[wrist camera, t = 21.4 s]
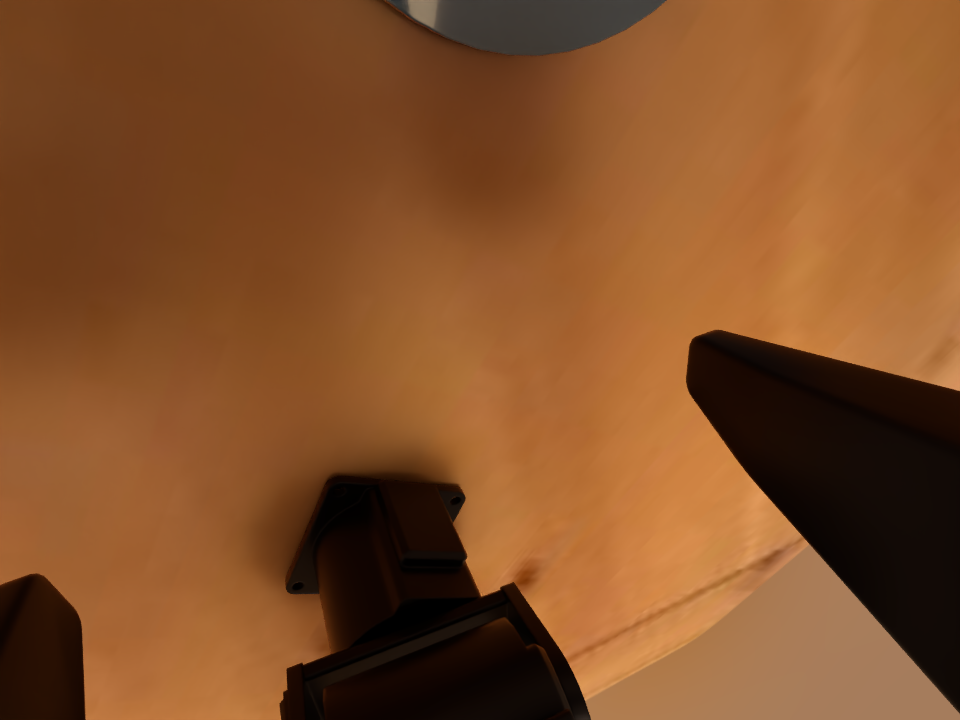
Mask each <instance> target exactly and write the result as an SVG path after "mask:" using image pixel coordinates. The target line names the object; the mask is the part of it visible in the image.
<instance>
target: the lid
mask: <svg viewBox="0 0 960 720" xmlns="http://www.w3.org/2000/svg"><path fill="white" fill-rule="evenodd" d="M384 1H385V2H386V3H388V4H389V5H390V6H392V7H393V8H395V9H396V10H397V11H399V12H400V13H402V14H403V15H404V16H406V17H407V18H408V19H410V20H411V21H413V22H415V23H417V24H419V25H421V26H423V27H424V28H426V29H428V30H430V31H432V32H434V33H436V34H438V35H440V36H441V37H444V38H447V39H449V40H452V41H455V42H458V43H461V44H464V45H466V46H469V47H472V48H475V49H478V50H483V51H489V52H494V53H499V54H505V55H521V56H542V55H549V54H557V53H564V52H570V51H573V50H576V49H580V48H583V47H586V46H590V45H593V44H596V43H599V42H601V41H603V40H605V39H607V38H609V37H612V36H614V35H616V34H618V33H620V32H622V31H624V30H626V29H628V28H629V27H631V26H632V25H634V24H635V23H637V22H638V21H640V20H642V19H643V18H645V17H646V16H648V15H649V14H651V13H652V12H653V11H655V10H656V9H657V8H658V7H659V6H661V5H662V4H663V3H664V2H665V1H667V0H384Z"/></svg>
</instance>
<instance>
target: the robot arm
mask: <svg viewBox="0 0 960 720" xmlns="http://www.w3.org/2000/svg"><path fill="white" fill-rule="evenodd" d="M686 383H687V388H688V391H689V393H690V395H691V396H692V398H693V399H694V401H695V402H696V403H697V405H698V406H699V408H700V409H701V410H702V412H703V413H704V415H705V416H706V417H707V419H708V420H709V422H710V423H711V424H712V426H713V427H714V429H715V430H716V431H717V433H718V434H719V436H720V437H721V438H722V440H723V441H724V443H725V444H726V445H727V447H728V448H729V450H730V451H731V452H732V454H733V455H734V457H735V458H736V459H737V461H738V462H739V463H740V465H741V466H742V467H743V468H744V470H745V471H746V472H747V473H748V475H749V476H750V477H751V478H752V479H753V481H754V482H755V483H756V484H757V485H758V486H759V488H760V489H761V490H762V491H763V492H764V493H765V494H766V495H767V497H768V498H769V499H770V500H771V501H772V502H773V503H774V505H775V506H776V507H777V508H778V509H779V510H780V511H781V512H782V514H783V515H784V516H785V517H786V518H787V519H788V520H789V521H790V523H791V524H792V525H793V526H794V527H795V528H796V529H797V530H798V532H799V533H800V534H801V535H802V536H803V537H804V538H805V540H806V541H807V542H808V543H809V544H810V545H811V546H812V547H813V549H814V550H815V551H816V552H817V553H818V554H819V555H820V556H821V558H822V559H823V560H824V561H825V562H826V563H827V564H828V565H829V567H830V568H831V569H832V570H833V571H834V572H835V573H836V574H837V576H838V577H839V578H840V579H841V580H842V581H843V582H844V584H845V585H846V586H847V587H848V588H849V589H850V590H851V591H852V593H853V594H854V595H855V596H856V597H857V598H858V599H859V600H860V601H861V603H862V604H863V605H864V606H865V607H866V608H867V609H868V611H869V612H870V613H871V614H872V615H873V616H874V617H875V619H876V620H877V621H878V622H879V623H880V624H881V625H882V626H883V628H884V629H885V630H886V631H887V632H888V633H889V634H890V635H891V637H892V638H893V639H894V640H895V641H896V642H897V643H898V644H899V646H900V647H901V648H902V649H903V650H904V651H905V652H906V653H907V655H908V656H909V657H910V658H911V659H912V660H913V661H914V663H915V664H916V665H917V666H918V667H919V668H920V669H921V670H922V672H923V673H924V674H925V675H926V676H927V677H928V678H929V679H930V681H931V682H932V683H933V684H934V685H935V686H936V687H937V688H938V690H939V691H940V692H941V693H942V694H943V695H944V696H945V698H946V699H947V700H948V701H949V702H950V703H951V704H952V705H953V707H954V708H955V709H956V710H957V711H958V712H959V713H960V391H957V390H954V389H950V388H946V387H942V386H938V385H934V384H930V383H926V382H922V381H918V380H914V379H910V378H906V377H903V376H899V375H895V374H891V373H887V372H883V371H879V370H875V369H871V368H867V367H863V366H859V365H855V364H852V363H848V362H844V361H840V360H836V359H832V358H828V357H824V356H820V355H816V354H812V353H808V352H805V351H801V350H797V349H793V348H789V347H785V346H781V345H777V344H773V343H769V342H765V341H761V340H758V339H754V338H750V337H746V336H742V335H738V334H734V333H730V332H726V331H722V330H713V331H710V332H707V333H705V334H702V335H699V336H696V337H695V338H693V339H692V341H691V343H690V346H689V355H688V365H687V375H686ZM338 487H342V488H341V489H338V490H335V489H336V488H338ZM454 497H455V498H454ZM452 498H453V499H452ZM465 499H466V498H465V495H464V493H463V491H462V489H461V488H460V487H456V486H445V485H435V484H424V483H414V482H403V481H392V480H382V479H371V478H361V477H350V476H335V477H333V478H331V479H330V480H328V482H327V483H326V485H325V487H324V490H323V492H322V494H321V497H320V499H319V501H318V504H317V506H316V508H315V511H314V513H313V516H312V518H311V520H310V523H309V525H308V527H307V530H306V532H305V534H304V537H303V539H302V541H301V544H300V546H299V549H298V551H297V553H296V556H295V558H294V560H293V563H292V565H291V567H290V570H289V572H288V574H287V577H286V580H285V584H286V590H287V592H289V593H290V594H320V600H321V605H322V610H323V615H324V620H325V625H326V630H327V635H328V641H329V646H330V651H331V655H328V656H325V657H323V658H320V659H318V660H315V661H312V662H310V663H307V664H305V665H303V663H300V664H297V665H295V666H292V667H289V668H287V690H286V691H284V692H283V698H284V699H283V700H282V701H281V703H280V713H281V720H591V718H590V715H589V712H588V709H587V706H586V703H585V700H584V697H583V695H582V692H581V690H580V687H579V685H578V682H577V680H576V678H575V676H574V674H573V671H572V670H571V668H570V666H569V664H568V662H567V660H566V658H565V657H564V655H563V653H562V652H561V650H560V649H559V647H558V646H557V644H556V643H555V641H554V640H553V638H552V637H551V636H550V634H549V633H548V631H547V630H546V628H545V627H544V625H543V624H542V623H541V621H540V620H539V618H538V617H537V615H536V614H535V612H534V611H533V610H532V608H531V607H530V605H529V604H528V602H527V601H526V599H525V598H524V596H523V595H522V594H521V592H520V591H519V589H518V588H517V586H516V585H515V583H514V582H512V583H510V584H507V585H505V586H502V587H500V590H498V591H496V592H493V593H490V594H488V595H485V596H482V597H481V595H480V593H479V591H478V588H477V586H476V584H475V582H474V579H473V577H472V575H471V573H470V570H469V568H468V566H467V564H466V561H465V560H466V559H467V553H466V551H465V549H464V547H463V544H462V542H461V540H460V538H459V536H458V533H457V531H456V529H455V527H454V525H453V522H454V520H455V518H456V517H457V515H458V513H459V511H460V509H461V507H462V505H463V504H464V502H465ZM297 582H298V583H297ZM0 720H86V719H85V694H84V669H83V644H82V626H81V621H80V618H79V615H78V613H77V611H76V610H75V609H74V607H73V606H72V605H71V604H70V603H69V602H68V601H67V600H66V599H65V598H64V597H63V595H62V594H61V593H60V592H59V591H58V590H57V589H56V588H55V587H54V586H53V585H52V584H51V583H50V582H49V580H48V579H46V578H45V577H44V576H42V575H40V574H29V575H26V576H24V577H21V578H18V579H15V580H12V581H10V582H7V583H4V584H2V585H0Z"/></svg>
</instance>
